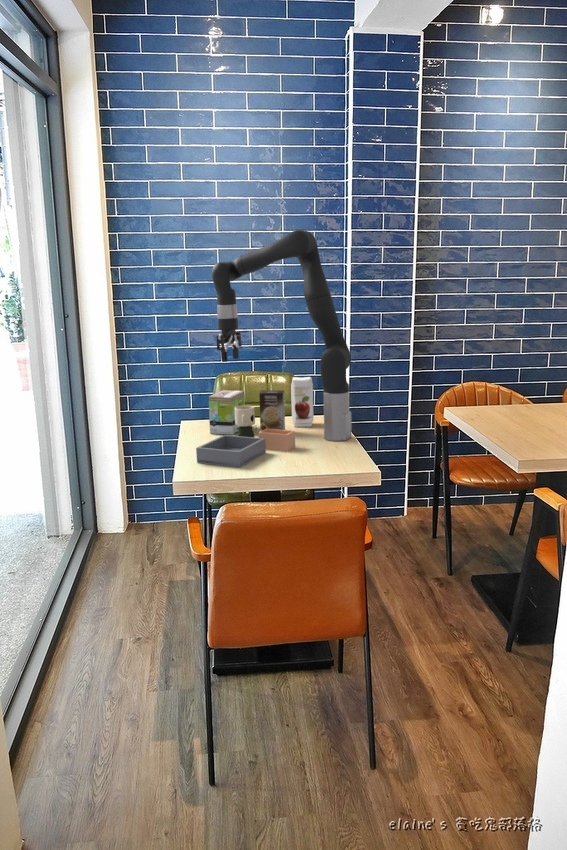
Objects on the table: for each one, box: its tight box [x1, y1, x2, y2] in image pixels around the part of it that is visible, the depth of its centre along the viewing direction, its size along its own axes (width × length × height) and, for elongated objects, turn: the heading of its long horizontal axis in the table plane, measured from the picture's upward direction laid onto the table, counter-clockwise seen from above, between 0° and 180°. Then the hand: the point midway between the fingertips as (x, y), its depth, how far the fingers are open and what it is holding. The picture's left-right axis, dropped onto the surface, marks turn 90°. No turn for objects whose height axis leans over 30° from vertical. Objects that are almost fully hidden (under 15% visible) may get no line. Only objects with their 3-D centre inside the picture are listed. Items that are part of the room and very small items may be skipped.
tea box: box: [208, 389, 246, 435], centre depth 254 cm, size 15×10×15 cm, turn 165°
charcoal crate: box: [195, 434, 267, 468], centre depth 217 cm, size 16×18×5 cm
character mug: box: [235, 405, 256, 438], centre depth 235 cm, size 11×7×13 cm, turn 179°
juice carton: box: [290, 376, 314, 428], centre depth 257 cm, size 8×9×19 cm
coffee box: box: [259, 389, 286, 432], centre depth 247 cm, size 9×6×16 cm
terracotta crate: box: [258, 429, 296, 452], centre depth 227 cm, size 11×6×6 cm, turn 65°
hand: (230, 360), depth 248 cm, fingers open, 8 cm apart
